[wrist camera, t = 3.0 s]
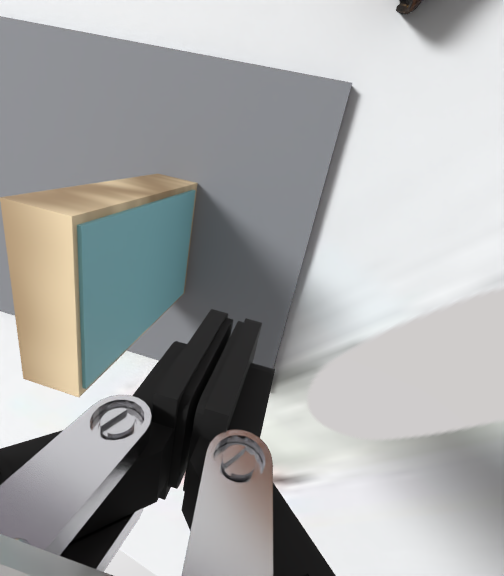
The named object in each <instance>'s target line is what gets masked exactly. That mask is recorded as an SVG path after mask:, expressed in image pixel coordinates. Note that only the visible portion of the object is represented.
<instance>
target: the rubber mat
mask: <svg viewBox="0 0 504 576" xmlns="http://www.w3.org/2000/svg"><path fill="white" fill-rule="evenodd" d="M351 86H352V83H350V82H345V81H339V80H334V79H329V78H323V77H318V76H313V75H307V74H302V73H297V72H292V71H286V70H281V69H276V68H270V67H265V66H260V65H255V64H249V63H244V62H239V61H233V60H228V59H223V58H218V57H212V56H207V55H202V54H196V53H191V52H186V51H181V50H175V49H170V48H165V47H159V46H154V45H149V44H144V43H138V42H133V41H128V40H122V39H117V38H112V37H107V36H101V35H96V34H91V33H85V32H80V31H75V30H70V29H64V28H59V27H54V26H48V25H43V24H38V23H33V22H27V21H22V20H17V19H11V18H6V17H1V16H0V197H6V196H12V195H19V194H26V193H32V192H39V191H46V190H52V189H59V188H66V187H72V186H79V185H85V184H92V183H99V182H105V181H112V180H119V179H125V178H132V177H139V176H145V175H152V174H162V175H166V176H170V177H174V178H179V179H183V180H187V181H191V182H195V183H198V184H197V193H196V201H195V209H194V218H193V226H192V235H191V243H190V252H189V260H188V269H187V277H186V286H185V293H184V294H183V295H182V296H181V297H180V298H179V299H178V300H177V301H176V302H175V303H174V304H173V305H172V306H171V307H170V308H169V309H168V310H167V311H166V312H165V313H164V314H163V315H162V316H161V317H160V318H159V319H158V320H157V321H156V322H155V323H154V324H153V325H152V326H151V327H150V328H149V329H148V330H147V331H146V332H145V333H144V334H143V335H142V336H141V337H140V338H139V339H138V340H137V341H136V342H135V343H134V344H133V345H132V346H131V347H130V348H129V349H127V351H130V352H133V353H136V354H140V355H143V356H146V357H149V358H152V359H156V360H160V359H161V358H162V356H163V355H164V354H165V352H166V351H167V350H168V349H169V347H170V346H171V345H172V344H173V342H175V341H178V342H181V343H185V344H188V342H189V341H190V339H191V338H192V336H193V335H194V333H195V332H196V330H197V329H198V327H199V326H200V325H201V323H202V322H203V320H204V319H205V317H206V316H207V314H208V313H209V311H210V310H211V309H214V310H218V311H221V312H225V313H228V318H230V319H233V326H232V331H231V334H232V332H233V330H234V328H235V326H236V324H237V322H238V321H241V322H244V321H245V319H246V318H247V319H250V320H254V321H258V322H261V323H262V326H261V331H260V335H259V339H258V343H257V347H256V351H255V356H254V360H253V363H255V364H258V365H262V366H265V367H269V368H272V369H273V368H274V364H275V360H276V357H277V353H278V350H279V346H280V342H281V339H282V335H283V332H284V328H285V324H286V321H287V317H288V313H289V310H290V306H291V303H292V299H293V295H294V292H295V288H296V285H297V281H298V277H299V274H300V270H301V266H302V263H303V259H304V256H305V252H306V248H307V245H308V241H309V238H310V234H311V230H312V227H313V223H314V219H315V216H316V212H317V209H318V205H319V201H320V198H321V194H322V191H323V187H324V183H325V180H326V176H327V172H328V169H329V165H330V162H331V158H332V154H333V151H334V147H335V144H336V140H337V136H338V133H339V129H340V125H341V122H342V118H343V115H344V111H345V107H346V104H347V100H348V97H349V93H350V89H351ZM0 311H2V312H5V313H8V314H11V315H15V310H14V302H13V294H12V287H11V279H10V271H9V264H8V256H7V248H6V241H5V233H4V225H3V218H2V210H1V202H0Z"/></svg>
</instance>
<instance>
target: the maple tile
mask: <svg viewBox="0 0 504 576" xmlns="http://www.w3.org/2000/svg"><path fill="white" fill-rule="evenodd" d="M197 184H198V183H195V182H191V181H187V180H183V179H179V178H174V177H170V176H166V175H162V174H152V175H145V176H139V177H132V178H125V179H119V180H112V181H105V182H99V183H92V184H85V185H79V186H72V187H66V188H59V189H52V190H46V191H39V192H32V193H26V194H19V195H12V196H6V197H0V202H1V210H2V218H3V225H4V233H5V241H6V248H7V256H8V264H9V271H10V279H11V287H12V294H13V302H14V310H15V317H16V325H17V333H18V340H19V348H20V356H21V363H22V371H23V379H26V380H29V381H32V382H35V383H38V384H41V385H44V386H47V387H50V388H53V389H56V390H59V391H62V392H65V393H67V394H70V395H73V396H76V397H80V396H81V395H82V394H83V393H84V392H85V391H86V390H87V389H88V388H89V387H90V386H91V385H92V384H93V383H94V382H95V381H96V380H97V379H98V378H99V377H100V376H101V375H102V374H103V373H104V372H105V371H106V370H107V369H108V368H109V367H110V366H111V365H112V364H113V363H114V362H115V361H116V360H117V359H118V358H119V357H120V356H121V355H122V354H123V353H124V352H125V351H126V350H127V349H129V348H130V347H131V346H132V345H133V344H134V343H135V342H136V341H137V340H138V339H139V338H140V337H141V336H142V335H143V334H144V333H145V332H146V331H147V330H148V329H149V328H150V327H151V326H152V325H153V324H154V323H155V322H156V321H157V320H158V319H159V318H160V317H161V316H162V315H163V314H164V313H165V312H166V311H167V310H168V309H169V308H170V307H171V306H172V305H173V304H174V303H175V302H176V301H177V300H178V299H179V298H180V297H181V296H182V295H183V294H184V293H185V286H186V277H187V269H188V260H189V252H190V243H191V235H192V226H193V218H194V209H195V201H196V193H197Z"/></svg>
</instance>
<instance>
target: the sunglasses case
mask: <svg viewBox="0 0 504 576" xmlns="http://www.w3.org/2000/svg"><path fill="white" fill-rule="evenodd" d="M421 1H422V0H400V4H399V5H398V6H397V8H396V11H397V12H399V13H402V14H408V13H410V12H412V11H414V10H415V9H416V7H417V6H418V5H419V4H420V3H421Z"/></svg>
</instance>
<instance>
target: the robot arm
mask: <svg viewBox="0 0 504 576" xmlns="http://www.w3.org/2000/svg"><path fill="white" fill-rule="evenodd" d="M232 326H233V319H230V318H228V313H225V312H221V311H218V310H214V309H211V310H210V311H209V313H208V314H207V316H206V317H205V319H204V320H203V322H202V323H201V325H200V326H199V327H198V329H197V330H196V332H195V333H194V335H193V336H192V338H191V339H190V341H189V342H188V344H185V343H181V342H178V341H175V342H173V344H172V345H171V346H170V347H169V349H168V350H167V351H166V352H165V354H164V355H163V356H162V358H161V359H160V360H159V362H158V363H157V364H156V366H155V367H154V368H153V370H152V371H151V372H150V373H149V375H148V376H147V377H146V379H145V380H144V381H143V383H142V384H141V385H140V387H139V388H138V389H137V391H136V392H135V393H134V394H133V396H131V395H116V396H110V397H107V398H105V399H102V400H100V401H98V402H97V403H95V404H94V405H92V406H91V407H90V408H89V409H88V410H86V411H85V412H84V413H83V414H82V415H81V416H80V417H78V418H77V419H76V420H75V421H74V422H73V423H71V424H70V425H69V426H68V427H67V428H66V429H65V430H62V431H59V432H55V433H52V434H49V435H45V436H42V437H39V438H35V439H32V440H29V441H25V442H22V443H19V444H15V445H12V446H8V447H5V448H2V449H0V576H113V575H109V574H107V573H104V570H105V569H106V568H107V566H108V565H109V563H110V562H111V560H112V558H113V557H114V556H115V554H116V553H117V551H118V550H119V548H120V547H121V545H122V544H123V542H124V541H125V539H126V538H127V536H128V535H129V533H130V532H131V530H132V528H133V527H134V525H135V524H136V522H137V521H138V519H139V518H140V516H141V513H142V511H143V508H144V507H146V506H149V505H151V504H153V503H155V502H157V500H158V498H161V499H164V500H165V499H166V496H167V494H168V492H169V490H170V487H173V488H176V489H177V488H178V487H179V485H180V482H181V480H182V478H183V475H184V473H185V471H186V474H185V481H184V487H183V491H185V493H184V499H183V505H182V512H183V514H184V517H185V519H186V522H187V524H188V526H189V529H190V531H191V532H190V537H189V542H188V547H187V552H186V557H185V562H184V567H183V572H182V576H335V574H334V573H333V571H332V570H331V568H330V567H329V565H328V564H327V562H326V561H325V559H324V558H323V556H322V555H321V553H320V552H319V550H318V549H317V547H316V546H315V544H314V543H313V541H312V540H311V538H310V537H309V535H308V534H307V532H306V531H305V529H304V528H303V526H302V525H301V523H300V522H299V520H298V519H297V518H296V516H295V515H294V513H293V512H292V510H291V509H290V507H289V506H288V504H287V503H286V501H285V500H284V498H283V497H282V495H281V494H280V492H279V491H278V489H277V488H276V486H275V485H274V483H273V463H272V457H271V453H270V451H269V449H268V447H267V445H266V444H265V443H264V442H263V441H262V440H261V439H260V435H261V430H262V426H263V421H264V417H265V412H266V408H267V403H268V399H269V394H270V390H271V385H272V380H273V376H274V371H275V369H272V368H269V367H265V366H262V365H258V364H255V363H253V360H254V356H255V351H256V347H257V343H258V339H259V335H260V331H261V326H262V323H261V322H258V321H254V320H250V319H247V318H246V319H245V321H244V322H241V321H238V322H237V324H236V326H235V328H234V330H233V332H232V334H231V331H232Z"/></svg>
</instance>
